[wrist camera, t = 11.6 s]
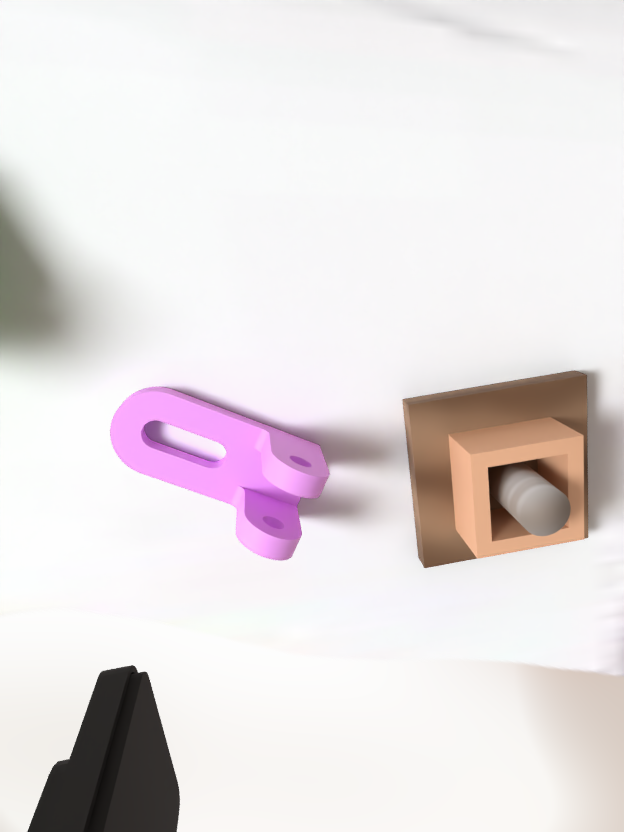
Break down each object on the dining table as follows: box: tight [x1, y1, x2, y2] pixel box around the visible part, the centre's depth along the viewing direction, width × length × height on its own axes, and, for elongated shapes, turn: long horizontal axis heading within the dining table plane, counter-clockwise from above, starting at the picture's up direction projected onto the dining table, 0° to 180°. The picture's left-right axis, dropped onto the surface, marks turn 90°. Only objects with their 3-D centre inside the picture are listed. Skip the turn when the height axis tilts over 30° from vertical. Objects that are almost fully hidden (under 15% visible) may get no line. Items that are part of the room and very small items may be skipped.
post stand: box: [403, 371, 588, 568], centre depth 38 cm, size 12×12×8 cm
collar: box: [448, 417, 584, 559], centre depth 38 cm, size 7×7×4 cm
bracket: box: [110, 387, 330, 560], centre depth 35 cm, size 13×6×7 cm, turn 67°
